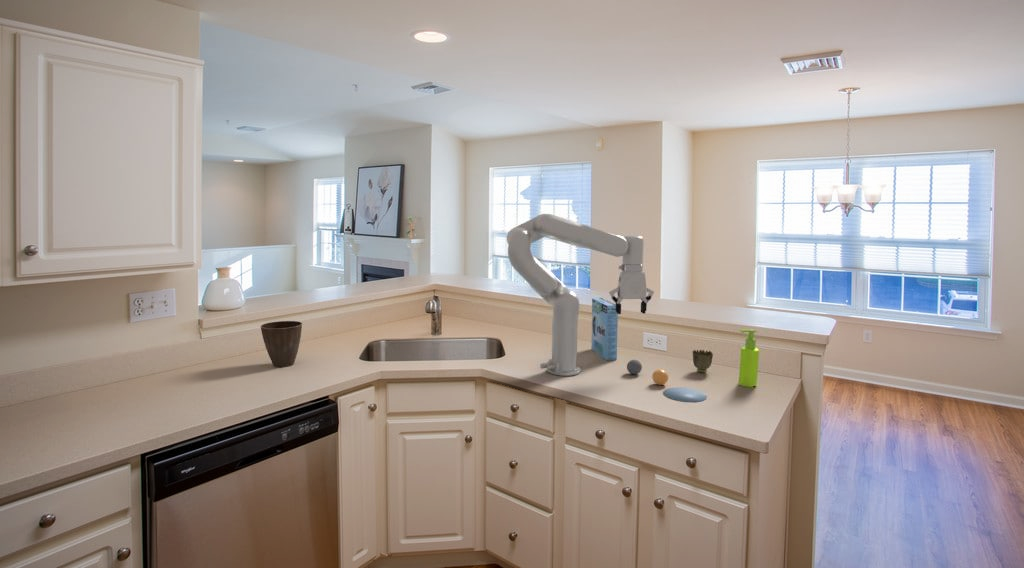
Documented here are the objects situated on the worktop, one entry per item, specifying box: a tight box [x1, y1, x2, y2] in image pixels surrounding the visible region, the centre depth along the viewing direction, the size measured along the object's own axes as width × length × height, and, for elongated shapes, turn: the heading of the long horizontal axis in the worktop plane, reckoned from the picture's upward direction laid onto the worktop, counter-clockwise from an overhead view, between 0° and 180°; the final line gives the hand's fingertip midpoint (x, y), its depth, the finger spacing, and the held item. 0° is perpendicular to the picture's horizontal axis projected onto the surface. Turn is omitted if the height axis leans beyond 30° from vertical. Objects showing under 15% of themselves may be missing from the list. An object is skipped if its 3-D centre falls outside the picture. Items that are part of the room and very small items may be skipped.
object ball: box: [652, 368, 669, 386], centre depth 198 cm, size 6×6×6 cm
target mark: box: [662, 387, 708, 403], centre depth 188 cm, size 14×14×1 cm
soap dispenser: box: [738, 328, 760, 388], centre depth 198 cm, size 6×7×20 cm
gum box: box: [591, 297, 619, 361], centre depth 237 cm, size 20×5×23 cm, turn 10°
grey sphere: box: [626, 359, 643, 375], centre depth 210 cm, size 6×6×6 cm
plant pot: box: [260, 320, 303, 368], centre depth 218 cm, size 15×15×16 cm
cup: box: [692, 349, 714, 374], centre depth 213 cm, size 8×7×8 cm
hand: (630, 313), depth 213 cm, fingers open, 9 cm apart
